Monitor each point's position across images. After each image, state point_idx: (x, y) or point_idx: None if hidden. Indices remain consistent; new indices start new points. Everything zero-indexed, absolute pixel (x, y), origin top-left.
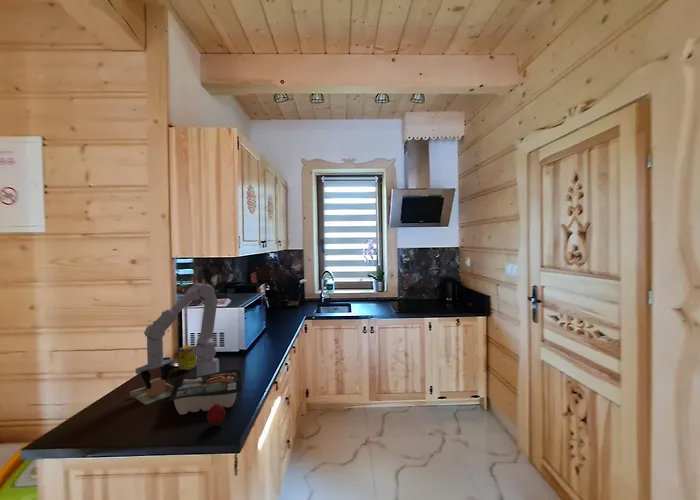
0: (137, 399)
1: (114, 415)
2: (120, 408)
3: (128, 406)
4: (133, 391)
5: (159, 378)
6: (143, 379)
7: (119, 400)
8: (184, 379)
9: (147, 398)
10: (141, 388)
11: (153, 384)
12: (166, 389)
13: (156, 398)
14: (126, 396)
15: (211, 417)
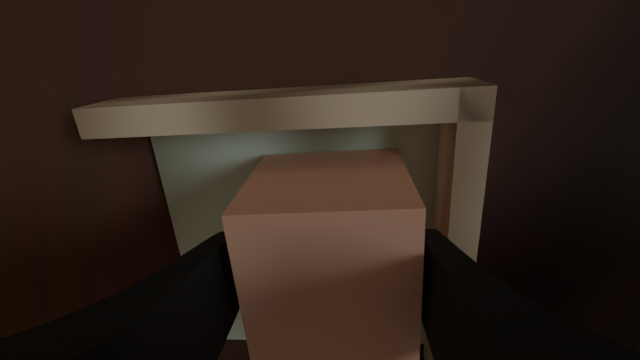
0: (169, 200)
1: (17, 316)
2: (47, 248)
3: (99, 262)
4: (107, 137)
5: (404, 239)
6: (121, 299)
7: (31, 75)
8: None
9: None
10: (197, 120)
11: (260, 357)
12: (433, 217)
13: None
14: (92, 21)
15: None
